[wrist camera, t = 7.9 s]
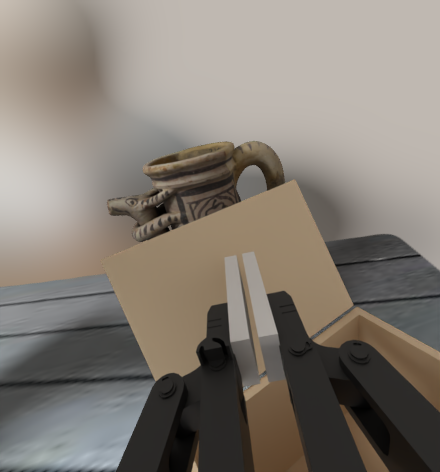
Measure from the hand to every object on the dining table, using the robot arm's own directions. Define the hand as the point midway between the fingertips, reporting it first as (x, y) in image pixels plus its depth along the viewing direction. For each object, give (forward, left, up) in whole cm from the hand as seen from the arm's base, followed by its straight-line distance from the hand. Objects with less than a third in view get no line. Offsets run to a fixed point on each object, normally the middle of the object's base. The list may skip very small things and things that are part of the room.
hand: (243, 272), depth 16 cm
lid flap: (0, +1, -2) cm, 2 cm away
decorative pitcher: (+5, +16, -19) cm, 26 cm away
